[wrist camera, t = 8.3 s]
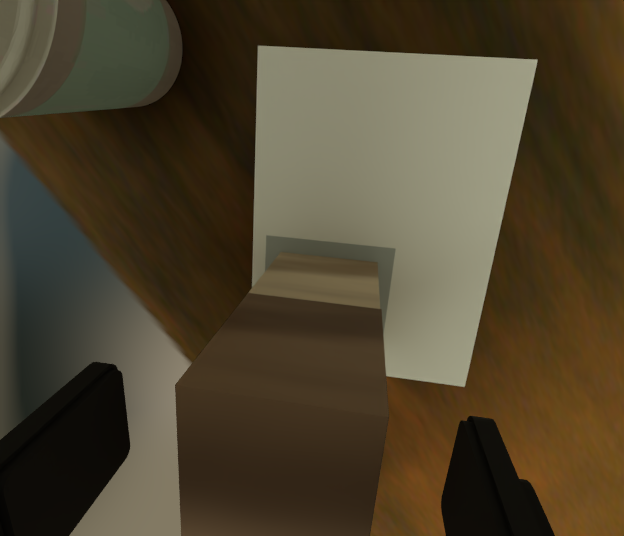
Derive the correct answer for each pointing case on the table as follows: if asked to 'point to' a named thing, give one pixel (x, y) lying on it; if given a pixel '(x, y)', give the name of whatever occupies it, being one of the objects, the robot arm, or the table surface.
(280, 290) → the beech block
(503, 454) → the robot arm
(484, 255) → the build board
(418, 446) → the table surface
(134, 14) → the coffee cup
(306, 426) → the walnut block
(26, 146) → the table surface
